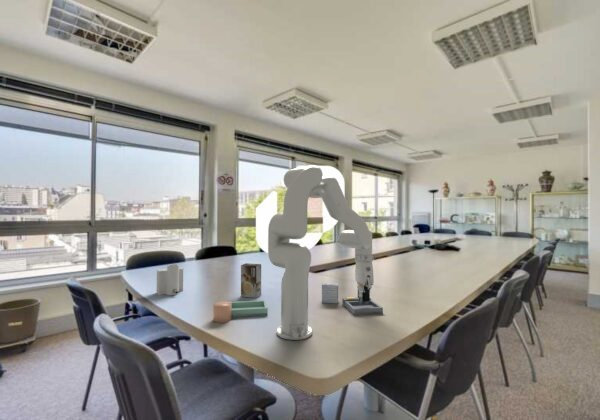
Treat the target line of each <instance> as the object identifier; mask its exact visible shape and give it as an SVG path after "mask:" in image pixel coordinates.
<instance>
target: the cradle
mask: <svg viewBox="0 0 600 420" xmlns="http://www.w3.org/2000/svg"><path fill="white" fill-rule="evenodd" d="M341 300H342V306H343V307H344V308H345V309H346V310H348V311H349V313H351V314H352V315H353V316H364V315H365V316H366V315H367V316H368V315H379V314H382V315H383V314H384V307H383V306H382V305H379V304H378V303H377V302H376V301H374V300H372V298H371V297H370V301H369V303H368V304H361V303H359V298H358V296H357V297H356V296H355V297H354V296H352V297H349V296H348V297H343V298H342V299H341Z"/></svg>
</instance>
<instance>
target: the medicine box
mask: <svg viewBox="0 0 600 420" xmlns="http://www.w3.org/2000/svg"><path fill="white" fill-rule="evenodd" d="M321 303H322V304H339V283H337V282H336V283H335V282H322V284H321Z"/></svg>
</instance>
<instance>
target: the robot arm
mask: <svg viewBox="0 0 600 420" xmlns="http://www.w3.org/2000/svg"><path fill="white" fill-rule="evenodd" d="M339 183H340V182H338V179H337V178H336V177H334V176H330V175H325V176H323V171H322V169H321V168H320V167H319V166H317V165H306V166H302V167H295V168H291V169H289V170H287V171H286V172H285V174H284V175H283V184H284V186H285V188H287V189H286V191H285V194H284V198H283V212H278V213H276V214H274V215H273V216H272V217H271V219H270V221H269V223H268V227H267V228H268V229H267V230H268V231H267V233H268V237H267V243H268V244H267V251H268V252H267V254H268V255H267V256H268V260H269V261H270V263H271V264H272V265H273V266H274V267H275V266H276V267H278V268H281V269H282V268H283V269H285V270H284V273H283V275H282V278H281V285H280V286H281V287H280V289H281V290H280V291H281V294H280V295H281V297H280V299H281V301H280V302H281V303H280V305H281V307H280V308H281V309H280V313H281V314H280V317H281V318H280V321H281V322H280V324H281V325H279V326H278V327H277V328H276V334H277V336H278V337H279V338H282V339H285V340H289V341H299V340H305V339H308V338H309V337H311V336H312V335H313V328H312V327H311V326H310V325H309V274H310V268H311V264H312V253H311V250H310V248H308V247H307V246H306V245H304V244H302V243H298V242H290V240H301V239H303V238H304V237H305V236H306V235H307V232H308V203H309V199H310V198H311V199H321V200H322V202H323V204H324V206H325V209H326V210H327V212H328V214H329V216H330V217H331V218H332V219H334V220H335V221H337V222H338V223H339V222H340V223H342V224H344V225H346V226H347V227H349V228H350V229H346V230H343V231H341V232H340V233H339V235H338V239H337V240H338V242H339V244H340V246H342V247H344V248H349V249H354V262H355V266H354V267H355V269H354V270H355V271H354V274H355V275H354V276H355V278H354V279H355V281H356V283H357V297H358V298H359V283H360V284H362V285H363V292H362V301H363V302H367V301H370V298H371V297H370V296H371V295H370V293H371V290H372V288H373V287H372V286H373V285H374V283H375V282H374V267H373V232H372V231H371V230H370V229H369V226H368V224H367V223H366V221H365V220H364V218H362V216H360V215H359V214H358V213H357V212H356V211H355V210H353V209H352V208H351V207H350V206H349V203H348V201H347V199H346V197H345V195H344V193H343V191H342V188H341V186H340V184H339ZM366 283H367V285H365V284H366ZM365 286H367V287H366V288H365Z"/></svg>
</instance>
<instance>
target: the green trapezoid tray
mask: <svg viewBox="0 0 600 420" xmlns="http://www.w3.org/2000/svg"><path fill="white" fill-rule="evenodd" d="M230 302H231V303H232V313H231V319H232V318H245V317H246V318H247V317H248V318H249V317H263V316H265V317H266V316H268V315H269V314H268V304H267V300H265V299H263V300H249V301H248V300H247V301H246V300H245V301H230Z"/></svg>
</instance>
